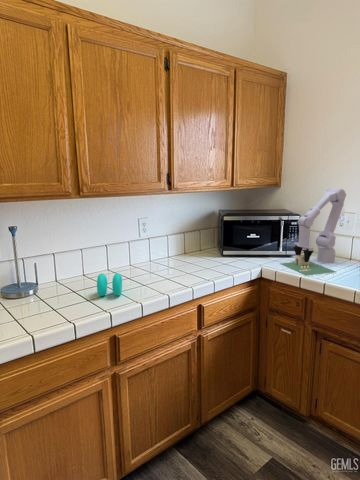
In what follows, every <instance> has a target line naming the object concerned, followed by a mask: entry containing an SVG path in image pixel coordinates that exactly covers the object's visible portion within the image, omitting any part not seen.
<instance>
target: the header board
mask: <svg viewBox="0 0 360 480" xmlns="http://www.w3.org/2000/svg"><path fill="white" fill-rule="evenodd" d="M279 265H282V266H283V267H286V268H287V269H288V268H289V269H290V270H293V271H295V272H297V273H300V274H301V275H303V276H307V277H308V276H313V275H316V276H317V275H322V276H323V274H325V275H326V274H330V275H333V274H335V273H337V271H335V270H333V269H330V268H327V267H326V266H322V265H320V264H317V263H314V262H312V261H310V263H309V265H298V264H295V261H293V262H291V261H290V262H281V263H279ZM332 273H333V274H332Z"/></svg>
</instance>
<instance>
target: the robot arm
mask: <svg viewBox="0 0 360 480" xmlns="http://www.w3.org/2000/svg"><path fill="white" fill-rule="evenodd" d="M346 197H347V193H346V191H345V190H344V189H343V188H331V187H328V188H327V189H326V190H325V191H324V192H323V196H322V197H321V198H320V200H319V201H318V202H317V204H316V205H315V206H310V208H309V209H308V210H307V212H306V213H305V214H304V215H302V216H300V217H299V218H298V220H297V224H298V230H299V232H298V241H297V242H295V241H294V242H293V246H292V249H293V250H294V252H295V253H294V254H295V255H302V253H303V255H304V261H305V262H308V261H309V259H310V260H311V256H312V254H313V253H314V251H315V250H314V247H313V246H311V245H310V233H311V227H312V226H313V224H314V221H315V220H316V218H317V217H318V216H319V215H320V214H321V211H322V209H323V208H325V206H326V205H327V204H329V203H330V204H331V206H332V207H331V209H330V213H329V214H328V218H327V220H326V223H325V226H324V229H323V230H322V231H320V232H319V234H318V236H317V237H316V238H315V244H316V245H317V258H316V259H314V260H313V261H314V262H317V263H320V264H322V265H323V264H336V263H337V262H336V250H335V248H334V247H335V245H336V238H337V236H335V234H334V233H335V229H336V228H337V227H336V226H337V224H338V222H339V219H340V217H341V213H342V210H343V208H344V205H345V204H344V203H345V199H346ZM302 251H303V252H302Z"/></svg>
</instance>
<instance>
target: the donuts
mask: <svg viewBox="0 0 360 480" xmlns="http://www.w3.org/2000/svg"><path fill="white" fill-rule="evenodd" d="M96 278H97V280H96V291H97V294H98V296H99V297H104V296H105V295H106V294H107V291H108V278H107V276H106V275H105V274H104V273H99V274H98V275H97V277H96ZM111 281H112V285H111V286H112V292H113V295H114V296H118V297H119V296H120V295H121V294H122V292H123V291H122V290H123V278H122V274H121V273H119V272H117V273H115V274H114V275H113V277H112V280H111Z"/></svg>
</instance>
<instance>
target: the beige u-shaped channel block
mask: <svg viewBox="0 0 360 480" xmlns="http://www.w3.org/2000/svg"><path fill="white" fill-rule="evenodd" d="M294 256H295V257H294V262H295V264H298V265H309V263H310V262H311V258H310V259H309V261H308V262H305V261H304V254H301V255H296V254H295V255H294Z"/></svg>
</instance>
